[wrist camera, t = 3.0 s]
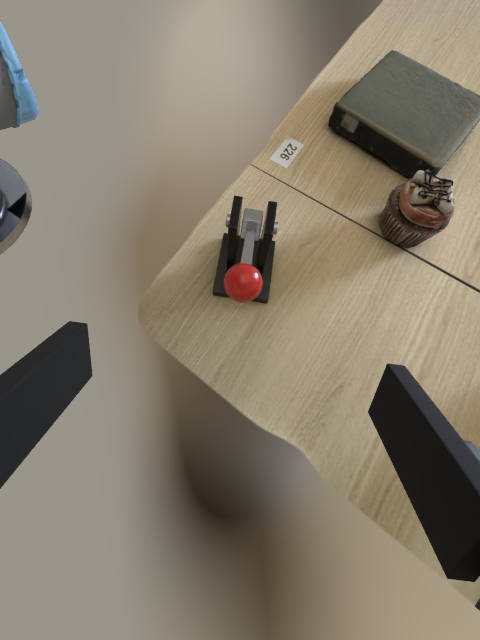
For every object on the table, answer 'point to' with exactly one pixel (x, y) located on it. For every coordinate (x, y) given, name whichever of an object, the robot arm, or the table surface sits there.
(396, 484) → the table surface
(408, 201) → the cupcake
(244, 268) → the switch lever
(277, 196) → the table surface
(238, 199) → the switch bracket
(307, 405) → the table surface
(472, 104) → the network switch
